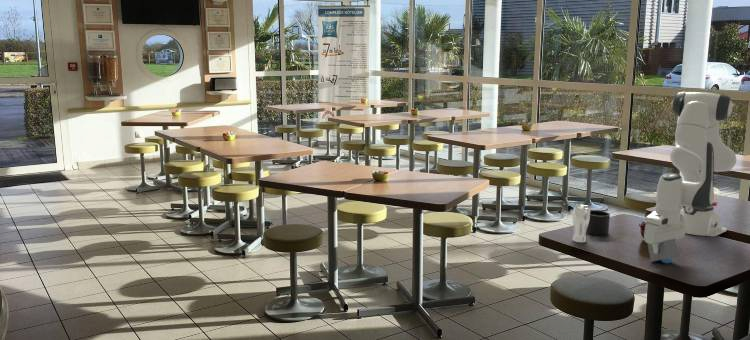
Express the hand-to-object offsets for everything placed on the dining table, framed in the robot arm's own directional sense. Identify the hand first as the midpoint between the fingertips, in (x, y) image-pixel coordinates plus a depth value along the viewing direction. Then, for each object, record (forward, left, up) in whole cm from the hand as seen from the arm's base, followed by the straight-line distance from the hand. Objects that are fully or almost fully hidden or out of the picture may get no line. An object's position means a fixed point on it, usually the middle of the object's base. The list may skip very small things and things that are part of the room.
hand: (663, 251), depth 244 cm
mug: (-10, -40, -4) cm, 41 cm away
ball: (0, +1, -2) cm, 2 cm away
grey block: (0, +1, -3) cm, 3 cm away
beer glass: (+7, -35, -4) cm, 36 cm away
